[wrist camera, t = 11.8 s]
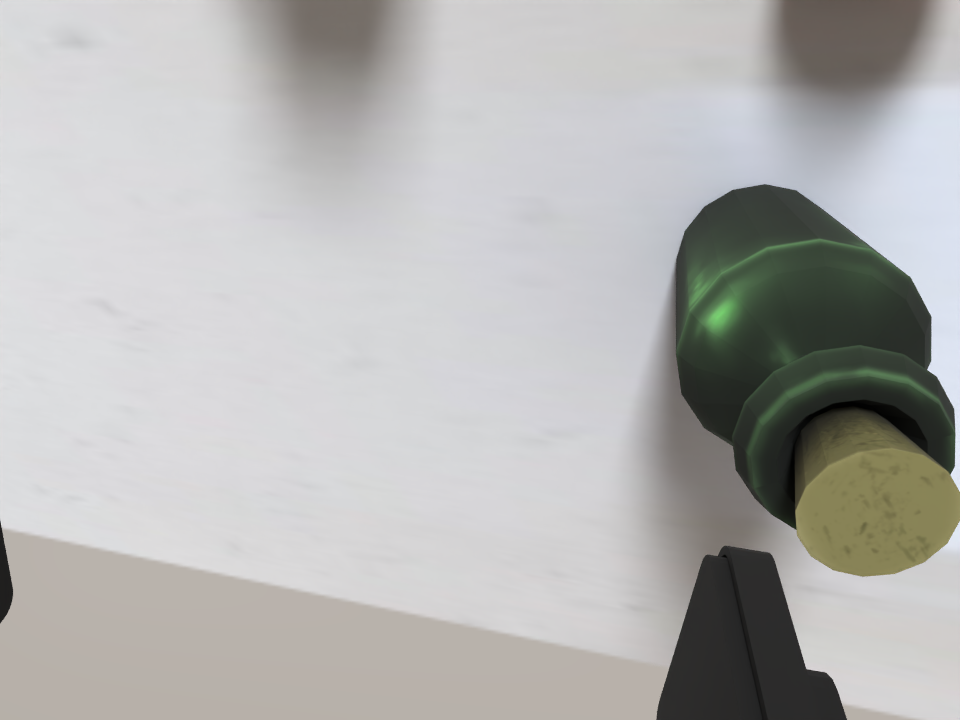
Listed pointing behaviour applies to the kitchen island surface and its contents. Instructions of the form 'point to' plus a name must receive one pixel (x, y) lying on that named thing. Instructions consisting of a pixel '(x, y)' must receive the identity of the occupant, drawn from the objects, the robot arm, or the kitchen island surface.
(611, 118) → the kitchen island surface
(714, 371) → the potion bottle
